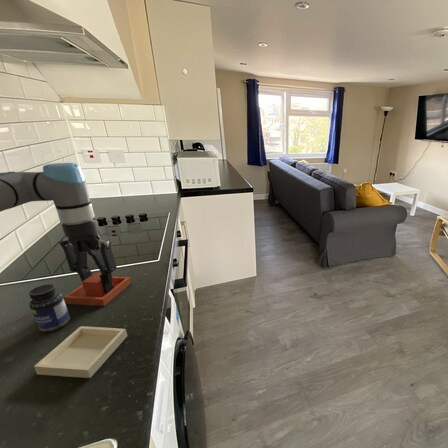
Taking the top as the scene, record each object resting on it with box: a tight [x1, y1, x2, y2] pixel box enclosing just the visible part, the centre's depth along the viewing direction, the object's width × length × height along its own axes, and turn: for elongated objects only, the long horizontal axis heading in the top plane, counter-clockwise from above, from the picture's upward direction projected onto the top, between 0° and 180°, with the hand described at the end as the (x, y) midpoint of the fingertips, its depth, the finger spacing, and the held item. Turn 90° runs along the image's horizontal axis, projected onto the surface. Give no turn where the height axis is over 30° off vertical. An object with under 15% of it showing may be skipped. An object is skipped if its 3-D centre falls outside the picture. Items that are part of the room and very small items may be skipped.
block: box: [81, 272, 114, 297], centre depth 80 cm, size 5×5×5 cm
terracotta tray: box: [63, 276, 132, 307], centre depth 81 cm, size 12×12×2 cm
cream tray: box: [33, 325, 128, 379], centre depth 59 cm, size 12×12×2 cm
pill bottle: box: [28, 283, 71, 334], centre depth 66 cm, size 6×6×11 cm
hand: (100, 290), depth 81 cm, fingers closed on block, 5 cm apart
